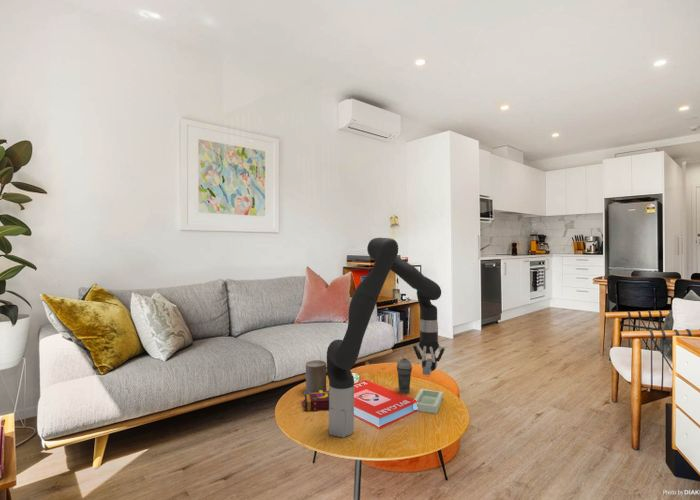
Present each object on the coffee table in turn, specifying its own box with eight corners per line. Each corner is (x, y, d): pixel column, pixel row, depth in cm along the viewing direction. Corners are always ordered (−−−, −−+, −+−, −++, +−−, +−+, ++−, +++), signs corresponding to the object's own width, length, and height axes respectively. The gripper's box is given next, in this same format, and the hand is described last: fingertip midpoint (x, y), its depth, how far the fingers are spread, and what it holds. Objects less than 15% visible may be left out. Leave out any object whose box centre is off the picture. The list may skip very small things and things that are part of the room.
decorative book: (341, 410, 163) (341, 398, 163) (302, 412, 160) (302, 400, 160) (337, 399, 174) (337, 388, 174) (301, 401, 171) (301, 390, 171)
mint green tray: (436, 414, 159) (436, 406, 159) (412, 410, 162) (412, 402, 162) (442, 398, 174) (443, 392, 174) (420, 395, 178) (420, 388, 178)
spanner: (431, 375, 161) (431, 368, 161) (421, 374, 162) (420, 366, 162) (437, 366, 173) (437, 359, 173) (427, 364, 174) (427, 358, 174)
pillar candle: (330, 391, 183) (330, 359, 183) (318, 397, 175) (318, 364, 175) (313, 387, 188) (313, 356, 188) (301, 393, 180) (301, 361, 180)
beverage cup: (407, 396, 177) (407, 352, 177) (393, 392, 181) (393, 349, 181) (414, 391, 183) (415, 349, 182) (401, 388, 187) (401, 346, 187)
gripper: (410, 330, 166) (410, 370, 166) (444, 333, 160) (444, 374, 160) (414, 326, 172) (414, 365, 173) (447, 329, 167) (447, 369, 167)
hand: (429, 369), depth 167 cm, fingers closed on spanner, 3 cm apart
